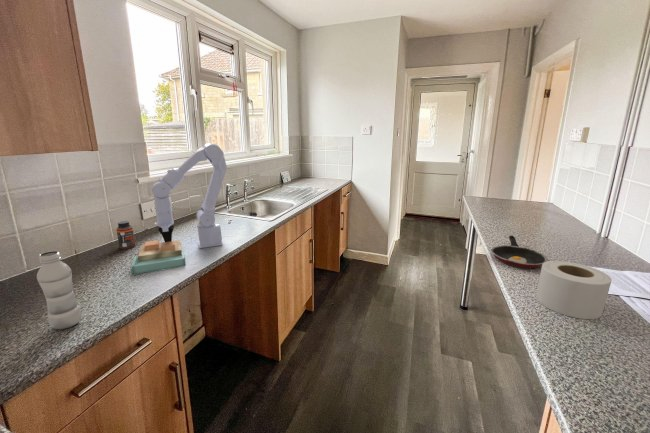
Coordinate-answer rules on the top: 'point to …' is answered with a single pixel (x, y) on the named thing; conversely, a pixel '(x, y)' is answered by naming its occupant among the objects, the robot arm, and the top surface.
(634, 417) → the top surface
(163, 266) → the tray
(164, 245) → the tile
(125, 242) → the supplement bottle
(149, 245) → the tile
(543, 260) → the frying pan
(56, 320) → the plastic bottle
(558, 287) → the roll of tape
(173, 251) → the board
